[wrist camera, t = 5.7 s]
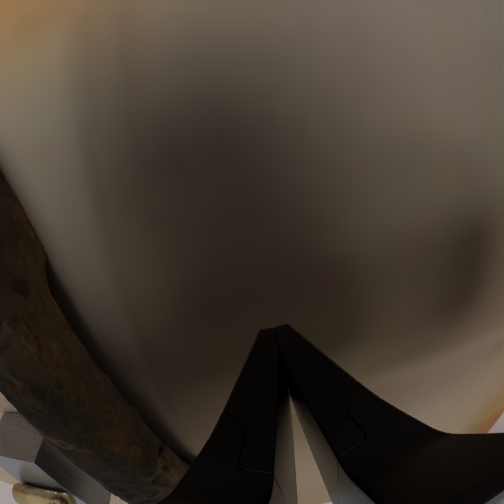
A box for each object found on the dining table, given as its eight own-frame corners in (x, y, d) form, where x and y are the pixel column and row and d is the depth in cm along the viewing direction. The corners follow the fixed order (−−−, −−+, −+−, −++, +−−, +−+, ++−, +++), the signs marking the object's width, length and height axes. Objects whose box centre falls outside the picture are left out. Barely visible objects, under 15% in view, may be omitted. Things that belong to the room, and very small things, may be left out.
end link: (52, 414, 11) (25, 487, 7) (113, 476, 13) (104, 537, 9) (4, 412, 11) (-23, 472, 7) (64, 471, 13) (51, 525, 9)
